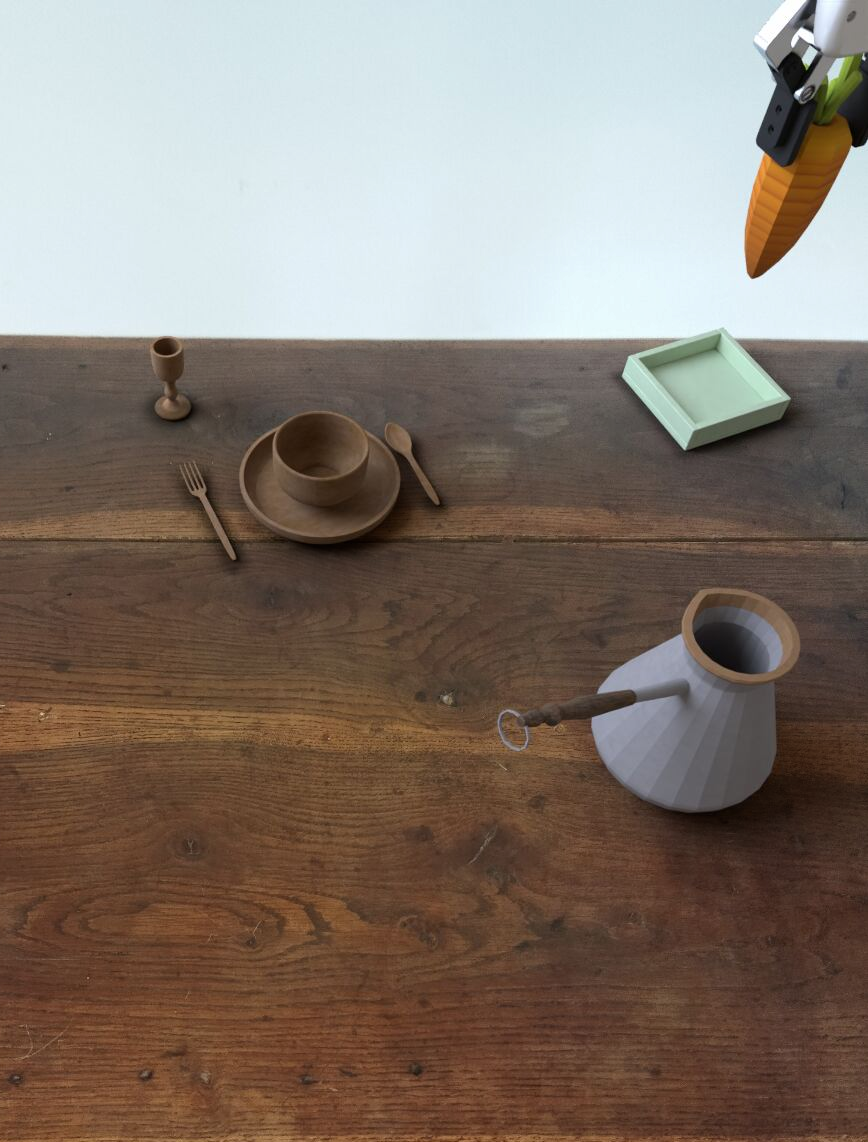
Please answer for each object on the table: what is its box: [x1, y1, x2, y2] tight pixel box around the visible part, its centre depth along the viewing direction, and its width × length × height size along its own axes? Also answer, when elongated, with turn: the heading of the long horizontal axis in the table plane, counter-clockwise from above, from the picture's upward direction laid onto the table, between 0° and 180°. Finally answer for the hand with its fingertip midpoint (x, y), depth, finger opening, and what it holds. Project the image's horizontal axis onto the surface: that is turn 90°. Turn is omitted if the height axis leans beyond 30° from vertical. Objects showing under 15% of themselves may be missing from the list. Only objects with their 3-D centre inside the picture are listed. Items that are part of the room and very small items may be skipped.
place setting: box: [149, 335, 441, 561], centre depth 80 cm, size 18×20×6 cm
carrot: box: [743, 53, 864, 280], centre depth 71 cm, size 5×5×15 cm
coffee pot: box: [497, 587, 801, 814], centre depth 62 cm, size 21×12×15 cm, turn 118°
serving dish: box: [621, 327, 792, 452], centre depth 86 cm, size 9×9×2 cm
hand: (810, 142), depth 69 cm, fingers closed on carrot, 4 cm apart
